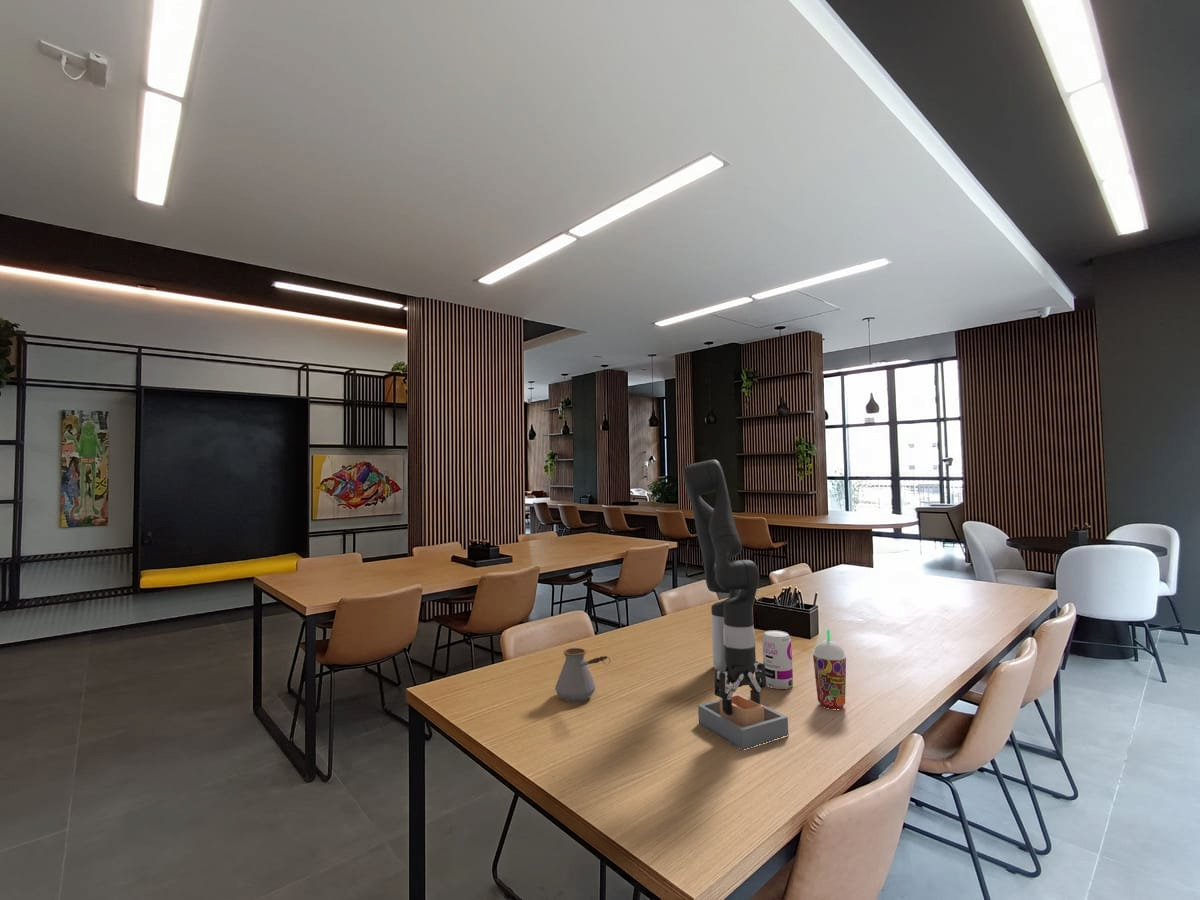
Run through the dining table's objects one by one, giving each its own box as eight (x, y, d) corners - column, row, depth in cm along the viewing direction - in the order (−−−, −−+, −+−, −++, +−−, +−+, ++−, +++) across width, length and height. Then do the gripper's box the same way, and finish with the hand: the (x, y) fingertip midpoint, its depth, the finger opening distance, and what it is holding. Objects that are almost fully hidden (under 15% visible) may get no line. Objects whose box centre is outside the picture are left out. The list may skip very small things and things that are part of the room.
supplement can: (794, 682, 162) (792, 631, 163) (791, 692, 155) (789, 638, 156) (766, 678, 166) (764, 628, 167) (762, 688, 158) (760, 635, 159)
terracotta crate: (739, 717, 138) (738, 693, 138) (764, 732, 130) (763, 706, 130) (720, 723, 135) (719, 698, 135) (745, 737, 127) (744, 711, 127)
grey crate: (741, 712, 142) (741, 694, 143) (788, 736, 128) (787, 717, 128) (698, 723, 136) (698, 705, 136) (742, 751, 122) (742, 730, 122)
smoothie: (834, 715, 139) (830, 635, 140) (807, 704, 147) (804, 628, 148) (855, 708, 143) (852, 631, 144) (829, 697, 150) (826, 624, 152)
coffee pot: (547, 696, 156) (547, 642, 157) (580, 686, 162) (580, 635, 163) (590, 721, 138) (589, 661, 139) (625, 709, 145) (624, 652, 146)
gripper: (750, 634, 140) (753, 699, 139) (706, 643, 133) (708, 711, 132) (772, 642, 133) (774, 710, 132) (726, 651, 127) (729, 722, 126)
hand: (741, 710), depth 132 cm, fingers open, 8 cm apart
